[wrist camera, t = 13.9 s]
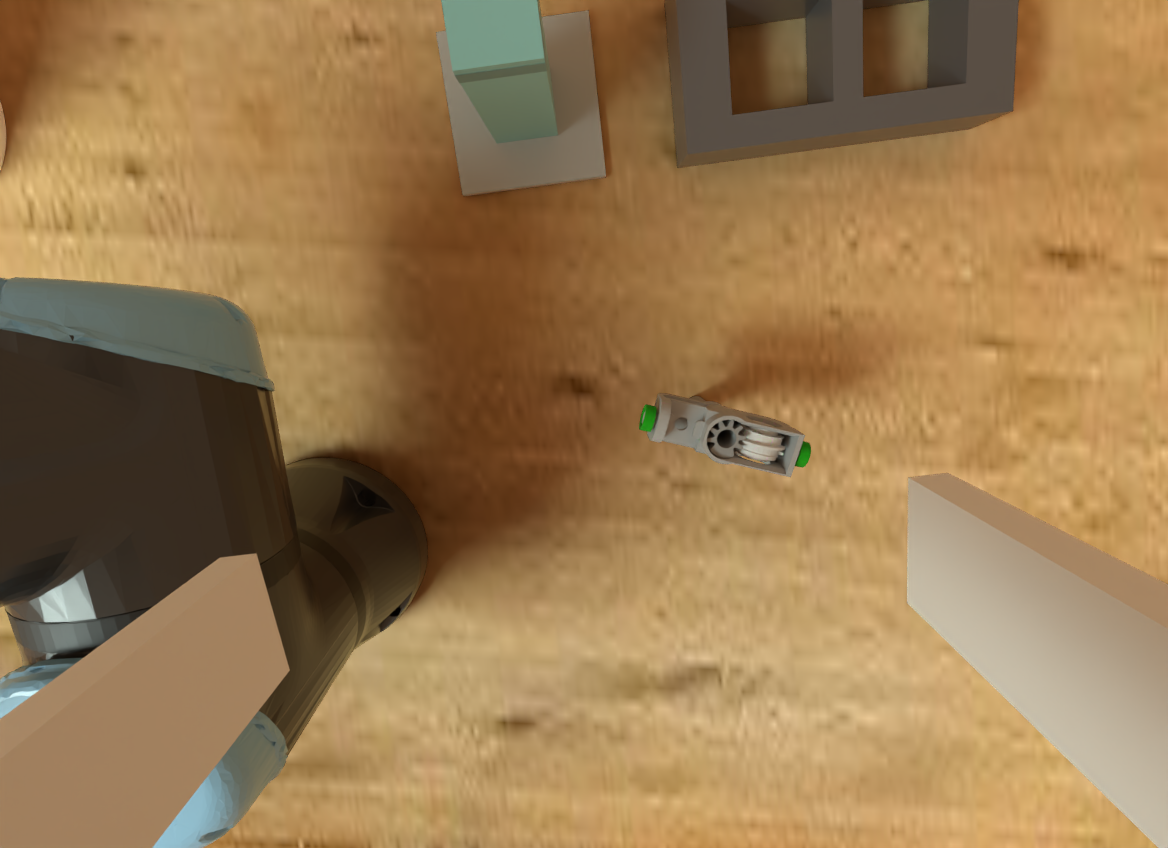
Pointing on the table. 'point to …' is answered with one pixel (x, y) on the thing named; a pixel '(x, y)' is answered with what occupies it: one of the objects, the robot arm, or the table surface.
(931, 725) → the table surface
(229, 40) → the table surface
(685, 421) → the mechanical component
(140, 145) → the table surface
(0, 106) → the canister
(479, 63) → the plug
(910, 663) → the table surface
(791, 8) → the cinder block
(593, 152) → the mat
